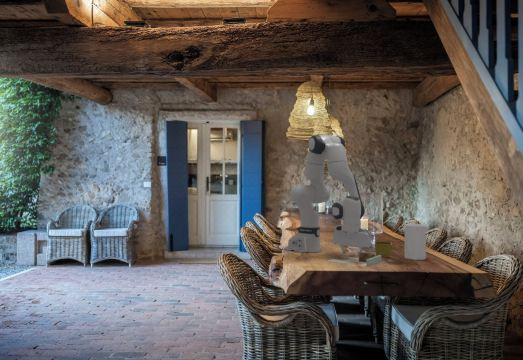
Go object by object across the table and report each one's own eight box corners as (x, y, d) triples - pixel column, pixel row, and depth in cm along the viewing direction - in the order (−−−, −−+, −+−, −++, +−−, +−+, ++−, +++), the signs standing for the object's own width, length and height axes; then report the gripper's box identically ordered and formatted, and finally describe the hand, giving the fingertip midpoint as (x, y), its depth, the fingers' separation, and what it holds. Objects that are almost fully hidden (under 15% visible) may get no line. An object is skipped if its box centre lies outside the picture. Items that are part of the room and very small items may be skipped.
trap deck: (326, 263, 235) (326, 255, 235) (341, 258, 250) (341, 250, 249) (368, 269, 223) (368, 260, 223) (381, 263, 237) (381, 255, 237)
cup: (426, 260, 248) (426, 226, 247) (404, 259, 251) (404, 225, 251) (425, 257, 258) (425, 224, 258) (404, 256, 261) (404, 223, 261)
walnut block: (358, 261, 234) (358, 253, 234) (362, 259, 239) (362, 252, 239) (370, 262, 231) (370, 254, 231) (374, 261, 236) (374, 253, 236)
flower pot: (391, 261, 245) (392, 244, 245) (374, 260, 247) (375, 243, 247) (390, 258, 254) (391, 241, 254) (374, 257, 256) (374, 241, 255)
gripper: (373, 228, 236) (373, 255, 236) (336, 225, 248) (336, 251, 248) (368, 229, 231) (368, 257, 231) (331, 226, 243) (331, 253, 243)
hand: (351, 254), depth 240 cm, fingers open, 7 cm apart
